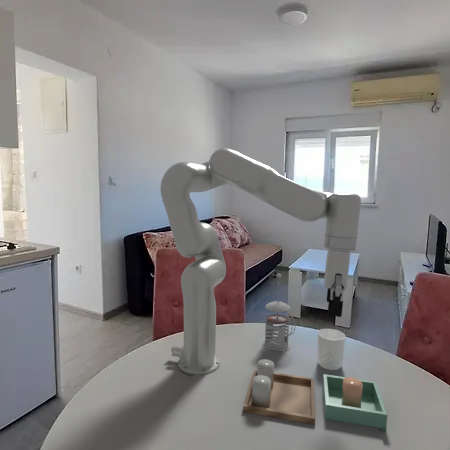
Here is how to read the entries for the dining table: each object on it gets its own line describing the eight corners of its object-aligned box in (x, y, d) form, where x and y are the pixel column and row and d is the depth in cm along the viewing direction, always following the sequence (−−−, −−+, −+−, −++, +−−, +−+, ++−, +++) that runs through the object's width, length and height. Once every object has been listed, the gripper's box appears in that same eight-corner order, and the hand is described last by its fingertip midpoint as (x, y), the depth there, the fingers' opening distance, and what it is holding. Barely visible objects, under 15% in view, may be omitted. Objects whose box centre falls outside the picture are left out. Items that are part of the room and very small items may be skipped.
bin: (324, 420, 77) (325, 404, 77) (322, 388, 90) (323, 374, 89) (386, 431, 74) (387, 414, 74) (374, 396, 87) (375, 381, 86)
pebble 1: (255, 388, 88) (256, 366, 88) (258, 378, 92) (258, 358, 92) (272, 390, 87) (273, 369, 86) (274, 381, 91) (275, 360, 91)
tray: (242, 413, 79) (243, 406, 79) (253, 376, 95) (254, 369, 95) (314, 427, 75) (315, 418, 75) (313, 385, 91) (314, 378, 91)
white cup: (345, 374, 97) (347, 341, 95) (316, 371, 98) (318, 338, 97) (341, 360, 104) (343, 330, 103) (315, 357, 106) (316, 327, 105)
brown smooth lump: (342, 409, 80) (344, 386, 80) (341, 398, 85) (342, 376, 84) (362, 412, 79) (364, 389, 79) (359, 401, 84) (361, 378, 83)
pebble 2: (250, 407, 80) (251, 383, 80) (253, 396, 85) (254, 374, 84) (269, 410, 79) (269, 386, 79) (271, 399, 84) (271, 376, 83)
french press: (274, 336, 120) (276, 268, 117) (301, 348, 112) (304, 275, 109) (255, 344, 114) (258, 273, 111) (283, 358, 105) (286, 280, 102)
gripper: (323, 236, 92) (318, 296, 95) (325, 247, 76) (318, 319, 78) (352, 239, 91) (346, 299, 93) (360, 250, 74) (352, 324, 76)
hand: (333, 308), depth 85 cm, fingers open, 9 cm apart
